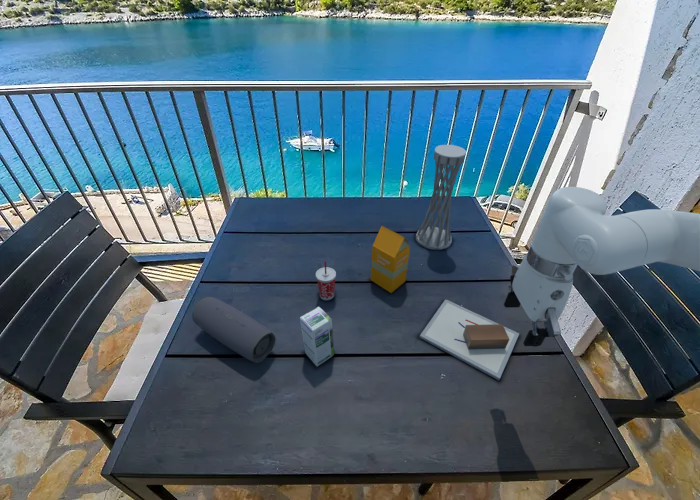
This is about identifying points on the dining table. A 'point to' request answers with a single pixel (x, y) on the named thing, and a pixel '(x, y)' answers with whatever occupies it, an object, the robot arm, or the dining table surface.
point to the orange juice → (389, 259)
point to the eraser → (485, 336)
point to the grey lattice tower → (434, 235)
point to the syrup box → (317, 335)
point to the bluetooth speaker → (234, 329)
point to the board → (449, 338)
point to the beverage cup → (326, 282)
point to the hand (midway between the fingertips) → (520, 324)
